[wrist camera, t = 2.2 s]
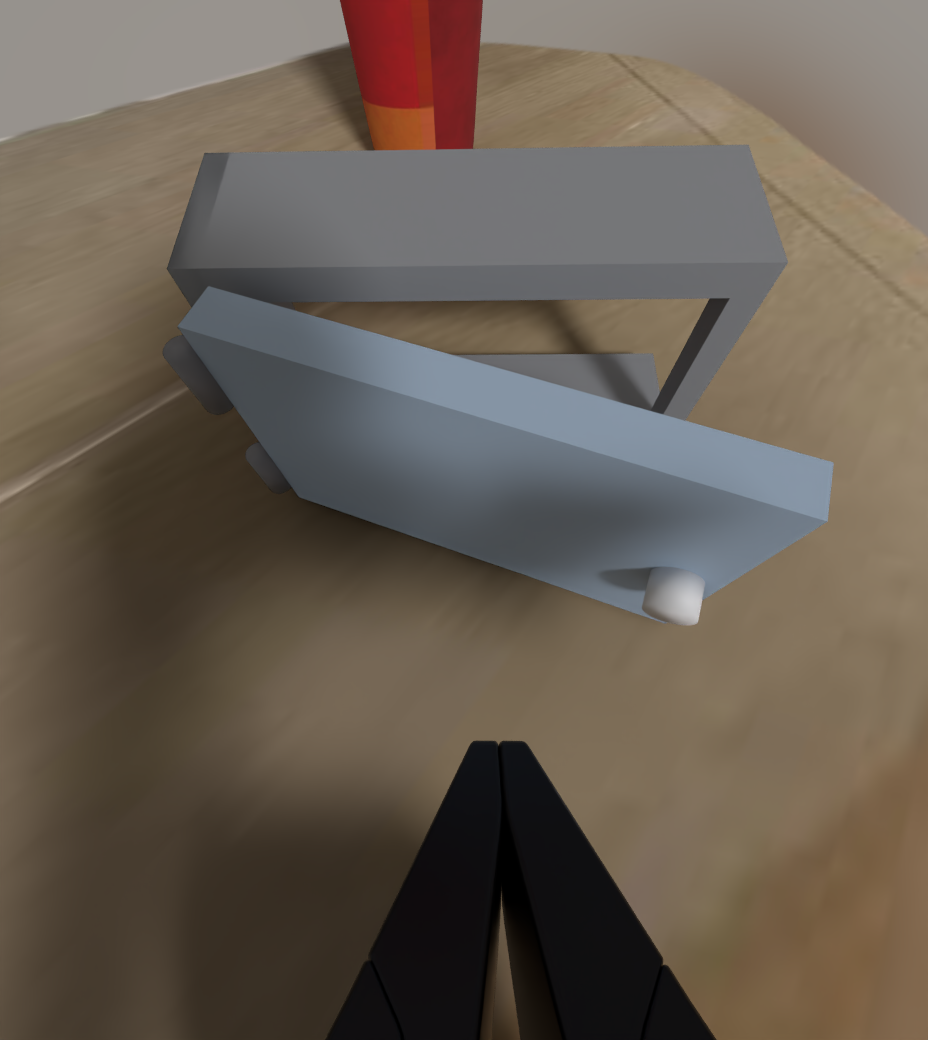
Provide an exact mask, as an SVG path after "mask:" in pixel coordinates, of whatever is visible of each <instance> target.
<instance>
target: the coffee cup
mask: <svg viewBox="0 0 928 1040" xmlns="http://www.w3.org/2000/svg"><path fill="white" fill-rule="evenodd" d="M340 2H341V7H342V11H343V16H344V20H345V25H346V29H347V34H348V38H349V43H350V47H351V51H352V56H353V60H354V65H355V69H356V74H357V78H358V83H359V87H360V91H361V96H362V100H363V104H364V109H365V113H366V117H367V122H368V126H369V130H370V134H371V139H372V143H373V147H374V150H439V149H473V142H474V128H475V112H476V94H477V77H478V63H479V48H480V34H481V33H480V32H481V20H482V4H483V0H340Z"/></svg>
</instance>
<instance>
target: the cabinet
mask: <svg viewBox="0 0 928 1040" xmlns="http://www.w3.org/2000/svg"><path fill="white" fill-rule="evenodd" d="M787 263H788V261H787V258H786V255H785V252H784V249H783V246H782V243H781V240H780V237H779V234H778V231H777V228H776V225H775V222H774V219H773V216H772V213H771V210H770V207H769V204H768V201H767V198H766V195H765V192H764V189H763V187H762V184H761V181H760V178H759V175H758V172H757V169H756V166H755V163H754V160H753V157H752V154H751V151H750V148H749V145H703V146H637V147H571V148H505V149H439V150H373V151H306V152H240V153H205V154H204V157H203V160H202V163H201V166H200V169H199V172H198V175H197V178H196V181H195V184H194V187H193V190H192V194H191V197H190V200H189V203H188V206H187V209H186V212H185V215H184V218H183V221H182V224H181V227H180V230H179V233H178V236H177V239H176V242H175V245H174V249H173V252H172V255H171V258H170V261H169V264H168V267H167V270H168V271H169V273H170V274H171V276H172V278H173V279H174V281H175V282H176V284H177V285H178V287H179V288H180V290H181V291H182V293H183V295H184V296H185V298H186V299H187V301H188V302H189V304H190V305H191V307H193V306H194V304H195V303H196V302H197V300H198V299H199V298H200V296H201V295H202V294H203V292H204V291H205V290H206V289H207V287H208V286H210V287H213V288H217V289H220V290H224V291H227V292H231V293H234V294H238V295H241V296H245V297H248V298H252V299H256V300H259V301H263V302H266V303H270V304H273V305H277V306H280V307H284V308H287V309H291V310H295V308H294V306H293V304H292V302H374V301H483V300H591V299H700V298H710V299H709V301H708V303H707V305H706V307H705V308H704V310H703V312H702V314H701V316H700V318H699V320H698V322H697V324H696V326H695V327H694V329H693V331H692V333H691V335H690V337H689V339H688V341H687V343H686V344H685V346H684V348H683V350H682V352H681V354H680V356H679V358H678V360H677V361H676V363H675V365H674V367H673V369H672V371H671V373H670V375H669V377H668V378H667V380H666V382H665V384H664V386H663V388H662V390H661V392H660V391H659V385H658V380H657V374H656V368H655V363H654V357H653V354H526V355H454V356H457V357H461V358H465V359H468V360H472V361H475V362H479V363H482V364H486V365H489V366H493V367H496V368H500V369H504V370H507V371H511V372H514V373H518V374H521V375H525V376H528V377H532V378H535V379H539V380H542V381H546V382H550V383H553V384H557V385H560V386H564V387H567V388H571V389H574V390H578V391H581V392H585V393H589V394H592V395H596V396H599V397H603V398H606V399H610V400H613V401H617V402H620V403H624V404H627V405H631V406H635V407H638V408H642V409H645V410H649V411H652V412H656V413H659V414H663V415H666V416H670V417H674V418H677V419H681V420H684V421H685V420H686V418H687V417H688V415H689V414H690V412H691V411H692V409H693V407H694V406H695V404H696V403H697V401H698V400H699V398H700V397H701V395H702V394H703V392H704V391H705V389H706V388H707V386H708V384H709V383H710V381H711V380H712V378H713V377H714V375H715V374H716V372H717V371H718V369H719V368H720V366H721V365H722V363H723V361H724V360H725V358H726V357H727V355H728V354H729V352H730V351H731V349H732V348H733V346H734V345H735V343H736V341H737V340H738V338H739V337H740V335H741V334H742V332H743V331H744V329H745V328H746V326H747V325H748V323H749V322H750V320H751V318H752V317H753V315H754V314H755V312H756V311H757V309H758V308H759V306H760V305H761V303H762V302H763V300H764V299H765V297H766V295H767V294H768V292H769V291H770V289H771V288H772V286H773V285H774V283H775V282H776V280H777V279H778V277H779V275H780V274H781V272H782V271H783V269H784V268H785V266H786V265H787Z"/></svg>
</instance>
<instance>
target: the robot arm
mask: <svg viewBox="0 0 928 1040" xmlns="http://www.w3.org/2000/svg"><path fill="white" fill-rule="evenodd" d="M501 893H502V907H503V916H504V925H505V932H506V939H507V946H508V953H509V961H510V968H511V975H512V982H513V989H514V996H515V1004H516V1011H517V1018H518V1025H519V1032H520V1040H716V1038H715V1037H714V1035H713V1034H712V1032H711V1031H710V1029H709V1028H708V1026H707V1025H706V1023H705V1022H704V1020H703V1019H702V1017H701V1016H700V1014H699V1013H698V1011H697V1010H696V1008H695V1007H694V1005H693V1004H692V1002H691V1001H690V999H689V998H688V996H687V995H686V993H685V991H684V990H683V988H682V987H681V985H680V984H679V982H678V980H677V979H676V977H675V976H674V974H673V972H672V971H671V969H670V968H669V966H667V965H663V957H662V956H661V954H660V953H659V951H658V949H657V948H656V946H655V945H654V943H653V942H652V940H651V938H650V937H649V935H648V934H647V932H646V930H645V929H644V927H643V926H642V924H641V923H640V921H639V919H638V918H637V916H636V915H635V913H634V912H633V910H632V908H631V907H630V905H629V904H628V902H627V901H626V899H625V897H624V896H623V894H622V893H621V891H620V890H619V888H618V886H617V885H616V883H615V882H614V880H613V878H612V877H611V875H610V874H609V872H608V871H607V869H606V867H605V866H604V864H603V863H602V861H601V860H600V858H599V856H598V855H597V853H596V852H595V850H594V849H593V847H592V845H591V844H590V842H589V841H588V839H587V838H586V836H585V834H584V833H583V831H582V830H581V828H580V827H579V825H578V823H577V822H576V820H575V819H574V817H573V815H572V814H571V812H570V811H569V809H568V808H567V806H566V804H565V803H564V801H563V800H562V798H561V797H560V795H559V793H558V792H557V790H556V789H555V787H554V786H553V784H552V782H551V781H550V779H549V778H548V776H547V775H546V773H545V771H544V770H543V768H542V767H541V765H540V764H539V762H538V760H537V759H536V757H535V756H534V754H533V752H532V751H531V749H530V748H529V746H528V745H527V744H526V743H525V742H523V741H502V742H500V744H499V746H498V743H497V742H496V741H473V742H472V743H471V744H470V746H469V748H468V750H467V752H466V754H465V756H464V758H463V760H462V762H461V764H460V766H459V768H458V770H457V773H456V775H455V777H454V779H453V781H452V783H451V785H450V787H449V789H448V791H447V793H446V795H445V797H444V799H443V801H442V803H441V806H440V808H439V810H438V812H437V814H436V816H435V818H434V820H433V822H432V824H431V826H430V828H429V830H428V832H427V834H426V836H425V839H424V841H423V843H422V845H421V847H420V849H419V851H418V853H417V855H416V857H415V859H414V861H413V863H412V865H411V867H410V869H409V872H408V874H407V876H406V878H405V880H404V882H403V884H402V886H401V888H400V890H399V892H398V894H397V896H396V898H395V900H394V902H393V905H392V907H391V909H390V911H389V913H388V915H387V917H386V919H385V921H384V923H383V925H382V927H381V929H380V931H379V933H378V935H377V938H376V940H375V942H374V944H373V946H372V948H371V950H370V952H369V955H368V958H369V960H367V961H365V962H364V964H363V966H362V968H361V970H360V972H359V974H358V976H357V978H356V980H355V982H354V984H353V986H352V988H351V990H350V992H349V994H348V996H347V998H346V1000H345V1002H344V1004H343V1006H342V1008H341V1010H340V1012H339V1014H338V1016H337V1018H336V1020H335V1022H334V1024H333V1025H332V1027H331V1029H330V1031H329V1033H328V1035H327V1037H326V1039H325V1040H491V1039H492V1026H493V1012H494V998H495V984H496V970H497V957H498V943H499V929H500V910H501Z"/></svg>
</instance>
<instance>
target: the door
mask: <svg viewBox="0 0 928 1040" xmlns="http://www.w3.org/2000/svg"><path fill="white" fill-rule="evenodd" d="M178 328H179V330H180V331H181V332H182V334H183V335H180V336H177V337H174V338H172V339H171V340H169V341H168V342H167V343H166V345H165V346H164V348H163V356H164V358H165V359H166V360H167V362H168V363H169V364H170V365H171V367H172V368H173V369H174V370H175V372H176V373H177V374H178V375H179V377H180V378H181V379H182V380H183V382H184V383H185V384H186V385H187V387H188V388H189V389H190V390H191V392H192V393H193V394H194V395H195V397H196V398H197V399H198V400H199V401H200V403H201V404H202V405H203V406H204V408H205V409H206V410H207V411H208V412H209V413H211V414H214V415H220V414H224V413H226V412H228V411H230V410H231V409H232V408H233V407H235V408H236V410H237V411H238V412H239V414H240V415H241V417H242V418H243V419H244V421H245V422H246V424H247V425H248V426H249V428H250V429H251V431H252V432H253V433H254V435H255V436H256V438H257V439H258V440H259V442H257V443H254V444H252V445H251V446H250V447H249V448H248V449H247V451H246V454H245V456H246V460H247V461H248V462H249V464H250V465H251V466H252V467H253V469H254V470H255V471H256V472H257V474H258V475H259V476H260V477H261V479H262V480H263V481H264V482H265V484H266V485H267V486H268V487H269V489H270V490H271V491H272V492H274V493H277V494H281V493H284V492H286V491H288V490H289V489H290V488H291V487H292V488H293V490H294V491H295V492H296V494H297V495H298V497H300V498H303V499H306V500H309V501H312V502H315V503H317V504H320V505H323V506H326V507H329V508H332V509H335V510H338V511H341V512H344V513H346V514H349V515H352V516H355V517H358V518H361V519H364V520H367V521H370V522H373V523H375V524H378V525H381V526H384V527H387V528H390V529H393V530H396V531H399V532H401V533H404V534H407V535H410V536H413V537H416V538H419V539H422V540H425V541H428V542H430V543H433V544H436V545H439V546H442V547H445V548H448V549H451V550H454V551H457V552H459V553H462V554H465V555H468V556H471V557H474V558H477V559H480V560H483V561H486V562H488V563H491V564H494V565H497V566H500V567H503V568H506V569H509V570H512V571H514V572H517V573H520V574H523V575H526V576H529V577H532V578H535V579H538V580H541V581H543V582H546V583H549V584H552V585H555V586H558V587H561V588H564V589H567V590H570V591H572V592H575V593H578V594H581V595H584V596H587V597H590V598H593V599H596V600H599V601H601V602H604V603H607V604H610V605H613V606H616V607H619V608H622V609H625V610H627V611H630V612H633V613H636V614H639V615H642V616H645V617H648V618H651V619H654V620H656V621H659V622H662V623H667V622H668V623H672V624H678V625H694V624H696V623H697V622H698V619H699V614H700V608H701V603H702V600H704V599H705V598H707V597H708V596H710V595H711V594H713V593H715V592H716V591H718V590H719V589H721V588H723V587H724V586H726V585H727V584H729V583H731V582H732V581H734V580H735V579H737V578H739V577H740V576H742V575H743V574H745V573H746V572H748V571H750V570H751V569H753V568H754V567H756V566H758V565H759V564H761V563H762V562H764V561H766V560H767V559H769V558H770V557H772V556H773V555H775V554H777V553H778V552H780V551H781V550H783V549H785V548H786V547H788V546H789V545H791V544H793V543H794V542H796V541H797V540H799V539H801V538H802V537H804V536H805V535H807V534H808V533H810V532H812V531H813V530H815V529H816V528H818V527H820V526H821V525H823V524H824V523H826V522H827V521H828V511H829V502H830V492H831V483H832V473H833V464H834V463H833V462H829V461H826V460H822V459H819V458H815V457H812V456H808V455H805V454H801V453H797V452H794V451H790V450H787V449H783V448H780V447H776V446H773V445H769V444H766V443H762V442H759V441H755V440H751V439H748V438H744V437H741V436H737V435H734V434H730V433H727V432H723V431H720V430H716V429H712V428H709V427H705V426H702V425H698V424H695V423H691V422H688V421H684V420H681V419H677V418H674V417H670V416H666V415H663V414H659V413H656V412H652V411H649V410H645V409H642V408H638V407H635V406H631V405H627V404H624V403H620V402H617V401H613V400H610V399H606V398H603V397H599V396H596V395H592V394H589V393H585V392H581V391H578V390H574V389H571V388H567V387H564V386H560V385H557V384H553V383H550V382H546V381H542V380H539V379H535V378H532V377H528V376H525V375H521V374H518V373H514V372H511V371H507V370H504V369H500V368H496V367H493V366H489V365H486V364H482V363H479V362H475V361H472V360H468V359H465V358H461V357H457V356H454V355H450V354H447V353H443V352H440V351H436V350H433V349H429V348H426V347H422V346H418V345H415V344H411V343H408V342H404V341H401V340H397V339H394V338H390V337H387V336H383V335H380V334H376V333H372V332H369V331H365V330H362V329H358V328H355V327H351V326H348V325H344V324H341V323H337V322H333V321H330V320H326V319H323V318H319V317H316V316H312V315H309V314H305V313H302V312H298V311H295V310H291V309H287V308H284V307H280V306H277V305H273V304H270V303H266V302H263V301H259V300H256V299H252V298H248V297H245V296H241V295H238V294H234V293H231V292H227V291H224V290H220V289H217V288H213V287H210V286H208V287H207V289H206V290H205V291H204V292H203V294H202V295H201V296H200V298H199V299H198V300H197V302H196V303H195V304H194V306H193V307H192V308H191V310H190V311H189V312H188V313H187V315H186V316H185V317H184V319H183V320H182V321H181V323H180V324H179V325H178Z"/></svg>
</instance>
